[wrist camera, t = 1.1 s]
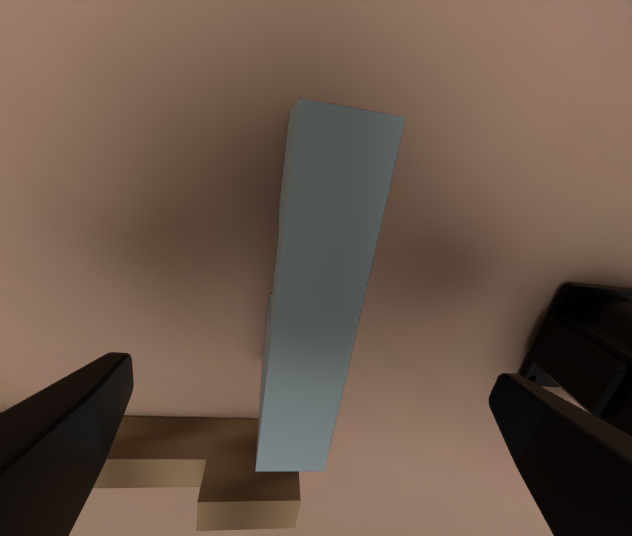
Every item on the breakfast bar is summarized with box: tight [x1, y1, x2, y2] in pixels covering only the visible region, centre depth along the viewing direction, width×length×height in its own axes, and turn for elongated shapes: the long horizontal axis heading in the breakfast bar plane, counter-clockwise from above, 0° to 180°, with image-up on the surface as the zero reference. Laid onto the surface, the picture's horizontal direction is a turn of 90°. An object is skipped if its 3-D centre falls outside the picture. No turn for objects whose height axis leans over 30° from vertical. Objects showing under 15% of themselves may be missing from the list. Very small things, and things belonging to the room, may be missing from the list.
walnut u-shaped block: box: [93, 416, 300, 531], centre depth 16 cm, size 16×2×4 cm, turn 81°
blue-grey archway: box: [256, 98, 406, 471], centre depth 12 cm, size 2×12×6 cm, turn 171°
